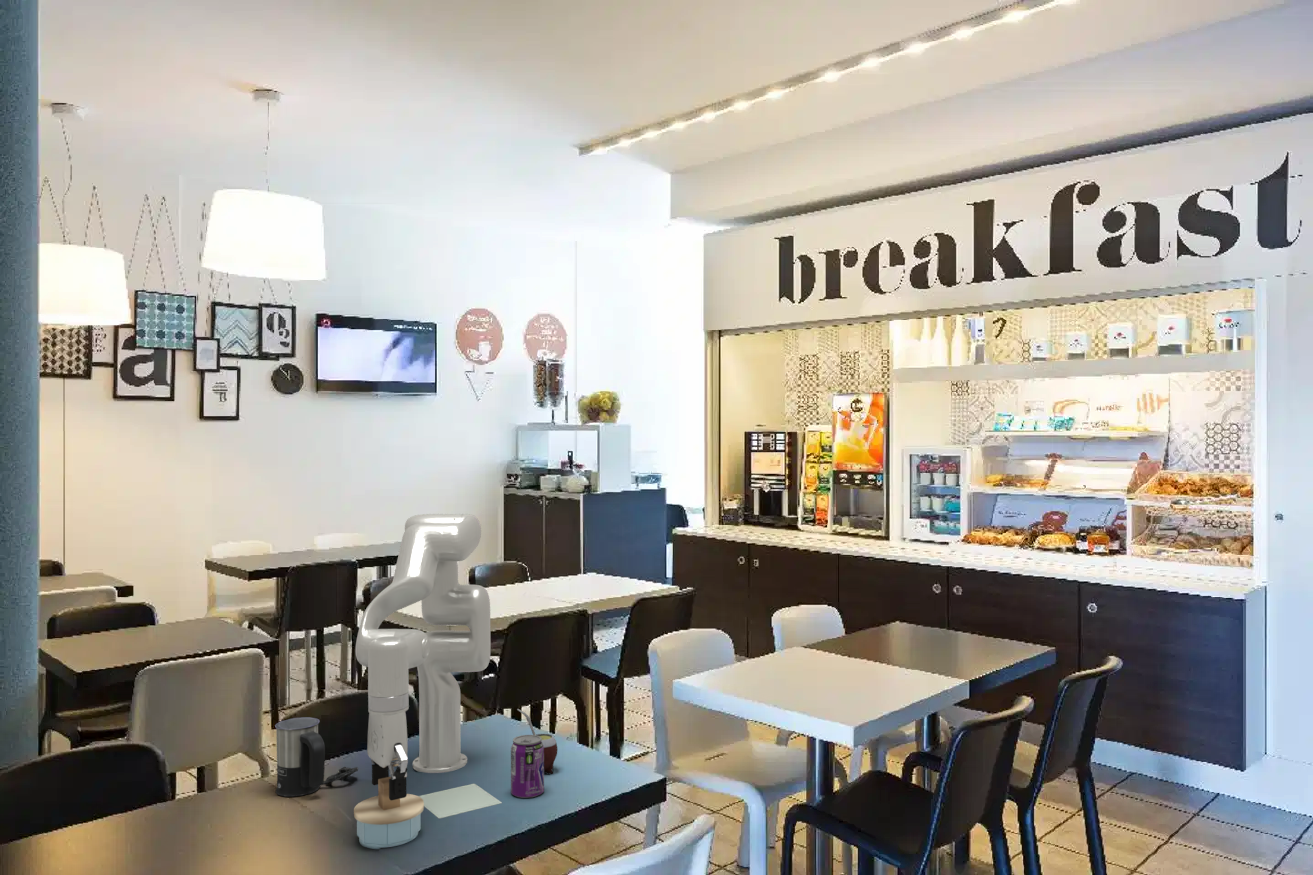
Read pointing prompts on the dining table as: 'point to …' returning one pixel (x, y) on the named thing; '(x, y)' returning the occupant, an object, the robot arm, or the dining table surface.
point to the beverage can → (527, 766)
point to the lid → (387, 807)
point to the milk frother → (302, 758)
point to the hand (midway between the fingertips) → (388, 790)
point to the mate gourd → (545, 747)
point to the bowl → (388, 833)
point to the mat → (458, 800)
